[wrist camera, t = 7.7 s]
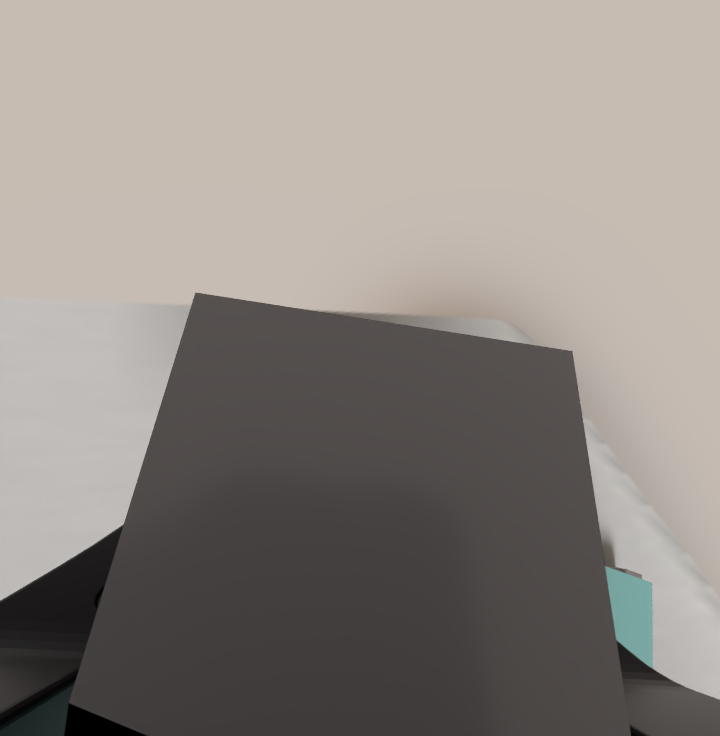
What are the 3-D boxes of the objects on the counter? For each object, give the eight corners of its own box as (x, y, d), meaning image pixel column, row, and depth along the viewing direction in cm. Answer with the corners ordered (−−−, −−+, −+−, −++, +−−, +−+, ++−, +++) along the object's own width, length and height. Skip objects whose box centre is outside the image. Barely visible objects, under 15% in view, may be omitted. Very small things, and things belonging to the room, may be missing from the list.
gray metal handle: (387, 618, 14) (1047, 1392, 2) (210, 607, 13) (-962, 1835, 1) (395, 446, 17) (682, 246, 4) (247, 429, 16) (64, 124, 3)
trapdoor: (609, 1022, 14) (655, 1097, 12) (321, 927, 14) (324, 989, 12) (620, 576, 21) (651, 582, 19) (421, 505, 20) (434, 504, 19)
